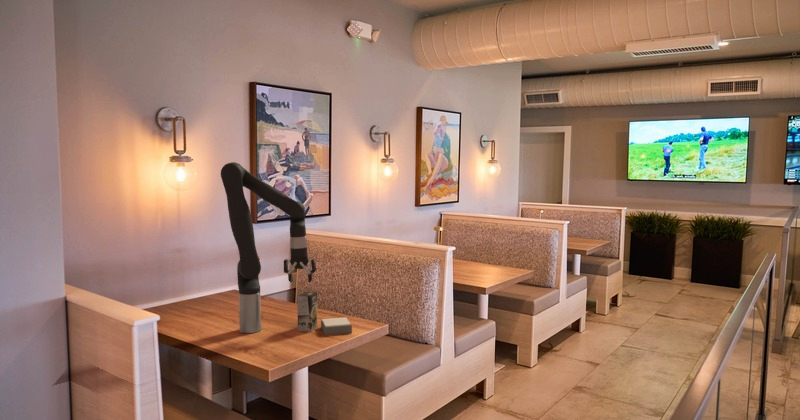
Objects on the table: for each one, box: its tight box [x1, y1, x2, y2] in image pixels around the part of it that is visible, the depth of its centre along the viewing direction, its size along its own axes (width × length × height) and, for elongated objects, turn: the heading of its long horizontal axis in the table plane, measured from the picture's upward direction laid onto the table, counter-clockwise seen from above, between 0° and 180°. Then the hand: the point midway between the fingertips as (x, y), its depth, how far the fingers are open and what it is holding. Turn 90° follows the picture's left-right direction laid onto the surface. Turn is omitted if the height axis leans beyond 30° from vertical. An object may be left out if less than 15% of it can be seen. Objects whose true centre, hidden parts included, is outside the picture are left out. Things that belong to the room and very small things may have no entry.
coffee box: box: [296, 291, 318, 333], centre depth 254 cm, size 9×6×16 cm
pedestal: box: [320, 316, 353, 336], centre depth 252 cm, size 12×12×4 cm
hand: (300, 281), depth 252 cm, fingers open, 8 cm apart
